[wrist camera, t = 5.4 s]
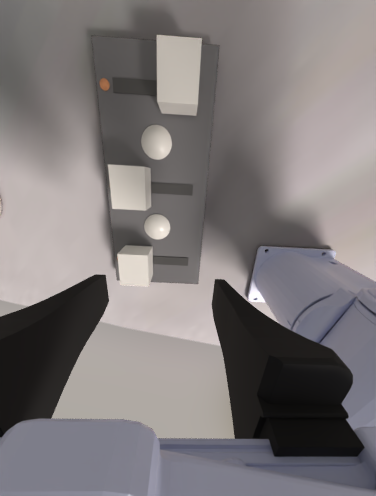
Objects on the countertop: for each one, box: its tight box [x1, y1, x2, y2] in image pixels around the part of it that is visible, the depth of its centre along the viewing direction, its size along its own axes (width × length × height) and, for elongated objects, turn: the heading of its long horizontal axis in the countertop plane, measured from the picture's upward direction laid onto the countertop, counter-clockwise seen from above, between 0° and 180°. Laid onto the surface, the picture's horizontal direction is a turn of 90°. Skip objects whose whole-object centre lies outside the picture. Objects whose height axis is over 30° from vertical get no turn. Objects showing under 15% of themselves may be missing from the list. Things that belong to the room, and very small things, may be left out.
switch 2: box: [117, 245, 153, 287], centre depth 19 cm, size 3×4×2 cm
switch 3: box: [157, 35, 202, 116], centre depth 14 cm, size 3×4×2 cm
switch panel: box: [91, 35, 220, 284], centre depth 19 cm, size 10×22×2 cm, turn 177°
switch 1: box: [108, 164, 151, 211], centre depth 16 cm, size 3×4×2 cm
